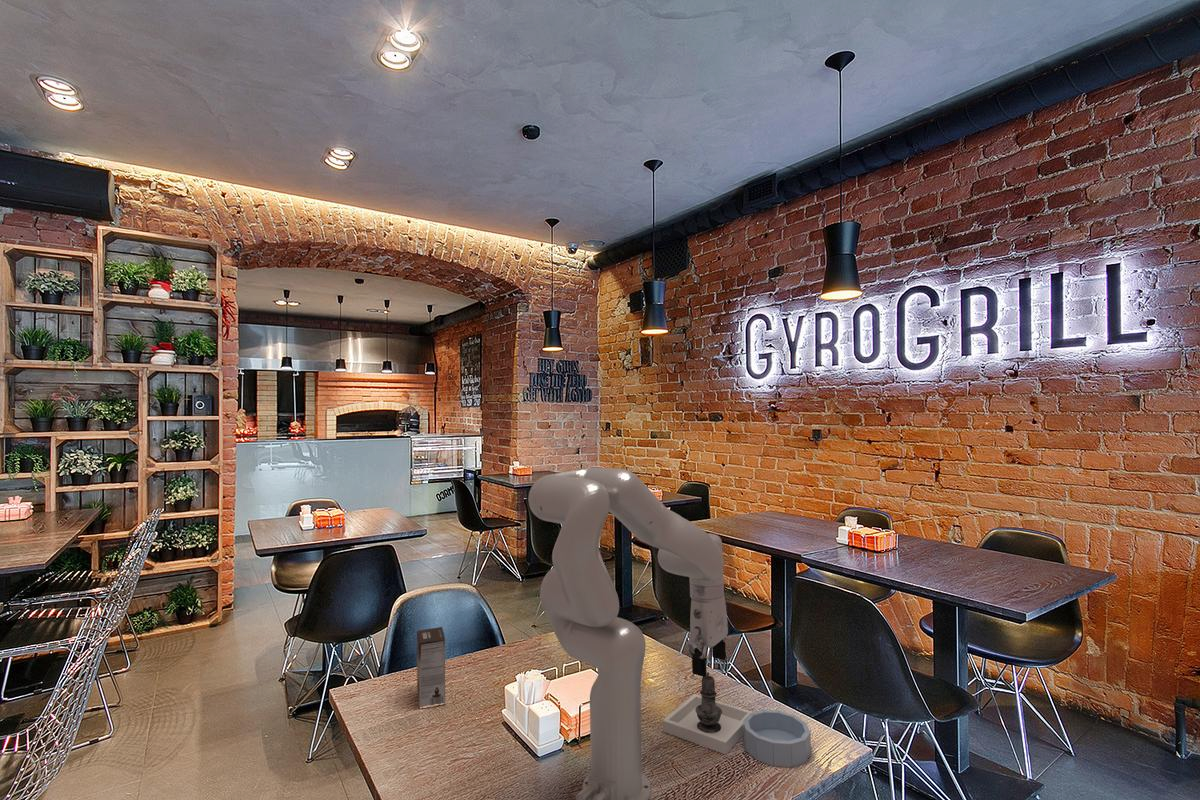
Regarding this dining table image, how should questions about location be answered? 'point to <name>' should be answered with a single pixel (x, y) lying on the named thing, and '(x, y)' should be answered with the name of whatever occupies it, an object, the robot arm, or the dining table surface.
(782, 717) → the bowl
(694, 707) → the parts tray
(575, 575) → the robot arm
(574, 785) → the dining table surface
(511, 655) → the dining table surface
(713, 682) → the dark brown turned figure
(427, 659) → the coffee box
